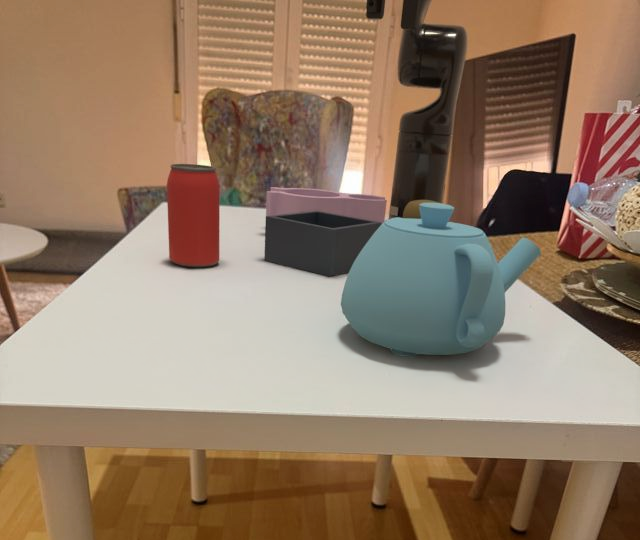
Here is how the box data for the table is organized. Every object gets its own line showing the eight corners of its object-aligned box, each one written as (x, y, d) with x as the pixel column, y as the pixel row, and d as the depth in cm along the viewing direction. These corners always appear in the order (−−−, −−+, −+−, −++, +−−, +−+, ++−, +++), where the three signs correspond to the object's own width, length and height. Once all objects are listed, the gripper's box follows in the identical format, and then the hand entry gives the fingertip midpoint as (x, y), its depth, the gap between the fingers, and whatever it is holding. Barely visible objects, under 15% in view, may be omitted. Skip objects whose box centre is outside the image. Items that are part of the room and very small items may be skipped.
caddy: (314, 251, 96) (317, 210, 94) (377, 265, 91) (382, 222, 88) (264, 260, 88) (265, 216, 85) (330, 276, 82) (333, 229, 79)
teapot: (308, 312, 66) (317, 186, 61) (468, 307, 73) (489, 193, 68) (391, 384, 50) (414, 221, 44) (587, 368, 57) (627, 225, 51)
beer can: (193, 270, 79) (191, 169, 74) (158, 261, 83) (154, 163, 77) (229, 264, 84) (230, 168, 79) (196, 255, 88) (194, 163, 82)
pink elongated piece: (379, 234, 115) (383, 194, 112) (383, 247, 104) (388, 203, 100) (270, 225, 115) (272, 185, 111) (263, 237, 103) (264, 193, 100)
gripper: (406, -165, 67) (388, 15, 74) (463, -121, 77) (442, 32, 85) (349, -154, 71) (337, 16, 78) (411, -114, 81) (395, 32, 89)
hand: (392, 24), depth 81 cm, fingers open, 8 cm apart
